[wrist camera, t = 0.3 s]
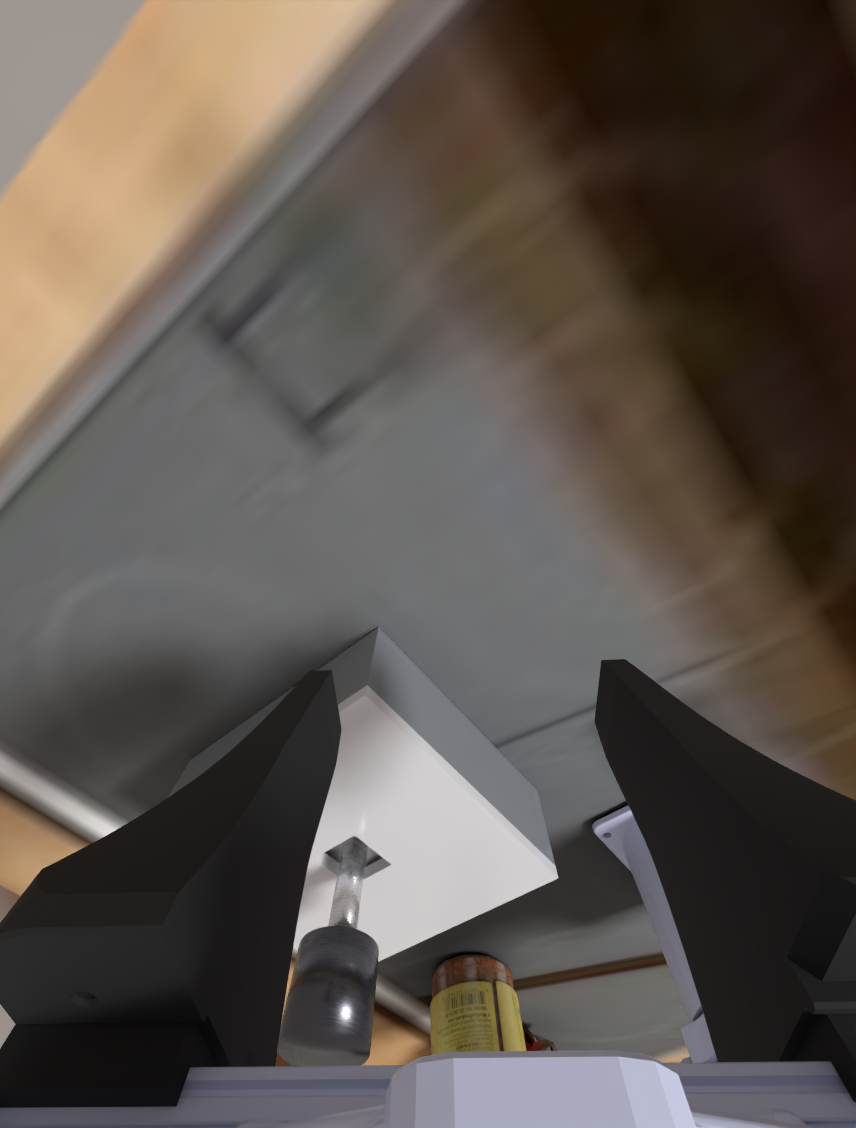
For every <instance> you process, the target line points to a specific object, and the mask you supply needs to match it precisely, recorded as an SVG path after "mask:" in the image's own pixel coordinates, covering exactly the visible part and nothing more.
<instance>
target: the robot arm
mask: <svg viewBox="0 0 856 1128" xmlns="http://www.w3.org/2000/svg"><path fill="white" fill-rule="evenodd" d="M595 724H596V727H597V730H598V734H599V737H600V740H601V743H602V746H603V749H604V752H605V755H606V758H607V760H608V762H609V765H610V767H611V769H612V771H613V773H614V775H615V778H616V780H617V782H618V784H619V786H620V789H621V791H622V793H623V795H624V797H625V799H626V801H627V803H628V806H626V807H624V808H622V809H619V810H617V811H615V812H613V813H611V814H609V815H607V816H605V817H603V818H601V819H599V820H597V821H595V822H594V823H593V825H592V828H593V831H594V833H595V834H596V835H597V837H598V838H599V839H600V840H601V841H602V842H603V843H604V844H605V845H606V846H607V847H608V848H609V849H610V850H611V851H612V852H613V853H614V854H615V855H616V857H617V858H618V859H619V860H620V861H621V862H622V863H623V864H624V865H625V866H626V867H627V868H628V869H629V870H630V871H631V872H632V874H633V877H634V880H635V882H636V885H637V887H638V890H639V892H640V895H641V898H642V900H643V903H644V905H645V908H646V910H647V913H648V916H649V918H650V921H651V923H652V926H653V928H654V931H655V934H656V936H657V939H658V941H659V944H660V946H661V949H662V952H663V954H664V957H665V959H666V962H667V964H668V967H669V970H670V972H671V975H672V977H673V980H674V982H675V985H676V988H677V990H678V993H679V995H680V998H681V1000H682V1003H683V1006H684V1008H685V1011H686V1013H687V1016H688V1019H689V1021H690V1024H688V1025H686V1026H683V1027H681V1029H680V1030H681V1033H682V1035H683V1038H684V1041H685V1044H686V1046H687V1049H688V1052H689V1054H690V1057H688V1058H685V1059H683V1060H682V1061H681V1063H662V1062H660V1061H658V1060H656V1059H654V1058H653V1057H651V1056H649V1055H647V1054H641V1053H633V1052H625V1051H617V1050H584V1051H488V1052H449V1053H442V1054H435V1055H428V1056H421V1057H419V1058H417V1059H416V1060H414V1061H412V1062H410V1063H408V1064H406V1065H381V1066H285V1067H284V1066H278V1067H275V1063H276V1056H277V1049H278V1042H279V1035H280V1028H281V1020H282V1013H283V1007H284V1000H285V994H286V988H287V981H288V975H289V969H290V962H291V956H292V950H293V944H294V939H295V933H296V927H297V921H298V916H299V910H300V905H301V899H302V894H303V889H304V884H305V878H306V873H307V868H308V863H309V859H310V855H311V851H312V847H313V844H314V840H315V837H316V833H317V830H318V826H319V823H320V819H321V816H322V813H323V809H324V806H325V802H326V799H327V795H328V792H329V788H330V785H331V781H332V778H333V774H334V771H335V767H336V762H337V756H338V750H339V744H340V737H341V730H342V728H341V722H340V716H339V710H338V704H337V697H336V691H335V685H334V679H333V673H332V670H322V671H309V672H308V673H307V674H306V675H305V677H304V678H303V679H302V680H301V681H300V682H299V683H298V684H297V685H296V686H295V687H294V688H293V689H292V690H291V691H290V692H289V694H288V695H287V696H286V697H285V698H284V699H283V700H282V701H281V702H280V703H279V704H278V705H277V706H276V707H275V708H274V709H273V710H272V711H271V712H270V713H269V715H268V716H267V717H266V718H265V719H264V720H263V721H262V722H261V723H260V724H259V725H258V726H257V727H255V728H254V729H253V730H252V731H251V732H250V733H249V734H248V735H247V736H246V737H245V738H244V739H243V740H242V741H241V742H239V743H238V744H237V745H236V746H235V747H234V748H233V749H232V750H231V751H229V752H228V753H227V754H226V755H225V756H223V757H222V758H221V759H220V760H219V761H217V762H216V763H215V764H214V765H212V766H211V767H210V768H209V769H207V770H206V771H205V772H203V773H202V774H201V775H200V776H198V777H197V778H196V779H194V780H193V781H191V782H190V783H188V784H187V785H186V786H184V787H183V788H181V789H180V790H178V791H177V792H176V793H174V794H173V795H171V796H170V797H168V798H167V799H165V800H164V801H163V802H161V803H160V804H158V805H157V806H155V807H154V808H152V809H150V810H149V811H147V812H146V813H144V814H142V815H141V816H139V817H138V818H136V819H134V820H133V821H131V822H129V823H128V824H126V825H124V826H122V827H121V828H119V829H117V830H116V831H114V832H112V833H110V834H109V835H107V836H105V837H103V838H101V839H100V840H98V841H96V842H94V843H92V844H90V845H88V846H86V847H84V848H83V849H81V850H79V851H77V852H75V853H73V854H71V855H69V856H67V857H65V858H63V859H61V860H60V861H58V862H56V863H54V864H52V865H50V866H48V867H45V868H43V869H42V870H41V871H40V873H39V874H38V875H37V876H36V877H35V879H34V880H33V881H32V883H31V884H30V885H29V887H28V888H27V889H26V890H25V892H24V893H23V894H22V896H21V897H20V898H19V899H18V901H17V902H16V903H15V905H14V906H13V907H12V908H11V910H10V911H9V912H8V914H7V915H6V916H5V918H4V919H3V920H2V921H1V923H0V1004H1V1005H2V1007H3V1008H4V1009H5V1011H6V1012H7V1013H8V1015H9V1016H10V1017H11V1019H12V1020H13V1021H14V1022H15V1024H16V1025H15V1026H14V1028H13V1029H12V1031H11V1033H10V1034H9V1036H8V1038H7V1039H6V1041H5V1042H4V1044H3V1045H2V1047H1V1049H0V1128H856V801H855V800H853V799H851V798H848V797H846V796H844V795H842V794H840V793H838V792H835V791H833V790H831V789H829V788H827V787H825V786H823V785H821V784H819V783H816V782H814V781H812V780H810V779H808V778H806V777H804V776H802V775H800V774H798V773H796V772H794V771H792V770H790V769H788V768H787V767H785V766H783V765H781V764H779V763H777V762H775V761H773V760H772V759H770V758H768V757H766V756H765V755H763V754H761V753H760V752H758V751H756V750H754V749H753V748H751V747H749V746H747V745H746V744H744V743H742V742H741V741H739V740H737V739H736V738H734V737H732V736H731V735H729V734H728V733H726V732H725V731H723V730H722V729H720V728H719V727H717V726H716V725H714V724H713V723H711V722H710V721H708V720H707V719H705V718H704V717H702V716H701V715H699V714H698V713H696V712H695V711H694V710H692V709H691V708H689V707H688V706H687V705H685V704H684V703H682V702H681V701H680V700H678V699H677V698H676V697H674V696H673V695H672V694H670V693H669V692H668V691H666V690H665V689H664V688H662V687H661V686H660V685H658V684H657V683H656V682H654V681H653V680H652V679H651V678H649V677H648V676H647V675H645V674H644V673H643V672H641V671H640V670H639V669H638V668H636V667H635V666H634V665H632V664H631V663H629V662H628V661H627V660H625V659H621V660H602V661H601V669H600V678H599V687H598V696H597V705H596V714H595Z"/></svg>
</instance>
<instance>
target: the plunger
mask: <svg viewBox="0 0 856 1128" xmlns="http://www.w3.org/2000/svg"><path fill="white" fill-rule="evenodd" d="M325 853H326V854H327V855H329V856H330V857H331V858H333V859H334V860H335V861H337V862H338V863H339V869H338V875H337V880H336V886H335V891H334V897H333V902H332V908H331V914H330V919H329V925H328V926H326V927H321V928H318V929H315V930H312V931H310V932H309V933H307V934H306V935H305V936H304V937H303V938H302V939H301V941H300V944H299V948H298V953H297V957H296V962H295V966H294V971H293V975H292V980H291V984H290V989H289V993H288V997H287V1002H286V1006H285V1011H284V1015H283V1020H282V1024H281V1029H280V1035H279V1042H278V1049H277V1052H278V1054H279V1055H280V1057H282V1059H283V1060H285V1061H286V1062H288V1063H289V1064H291V1065H293V1066H361V1065H362V1064H363V1063H365V1062H366V1061H367V1059H368V1058H369V1055H370V1047H371V1035H372V1024H373V1013H374V1001H375V990H376V978H377V967H378V956H379V948H378V945H377V943H376V942H375V940H374V939H373V938H372V937H370V936H369V935H368V934H366V933H364V932H362V931H360V930H357V924H358V916H359V909H360V901H361V893H362V886H363V878H364V870H365V867H367V866H368V865H370V864H372V863H374V862H376V861H378V860H380V859H381V858H382V857H381V856H380V855H379V854H377V853H376V852H375V851H374V850H372V849H371V848H370V847H369V846H367V845H366V844H365V843H364V842H362V841H361V840H360V839H359V838H357V837H356V836H353V837H351V838H349V839H347V840H346V841H344V842H342V843H340V844H339V845H337V846H335V847H333V848H332V849H330V850H328V851H326V852H325Z"/></svg>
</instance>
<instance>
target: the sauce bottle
mask: <svg viewBox="0 0 856 1128" xmlns="http://www.w3.org/2000/svg"><path fill="white" fill-rule="evenodd" d="M430 1023H431V1055H435V1054H442V1053H449V1052H488V1051H526V1045H525V1039H524V1033H523V1027H522V1021H521V1015H520V1009H519V1003H518V997H517V994H516V992H515V991H514V987H513V978H512V974H511V971H510V969H509V967H508V966H507V965H505V964H504V963H502V962H500V961H497V960H496V959H494V958H492V957H490V956H487V955H479V954H474V955H472V954H469V955H461V956H456V957H454V958H452V959H448V960H446V961H445V962H444V963H442V964H441V965H440V966H438V968H437V970H436V971H435V972H434V974H433V976H432V1002H431V1005H430Z"/></svg>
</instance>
